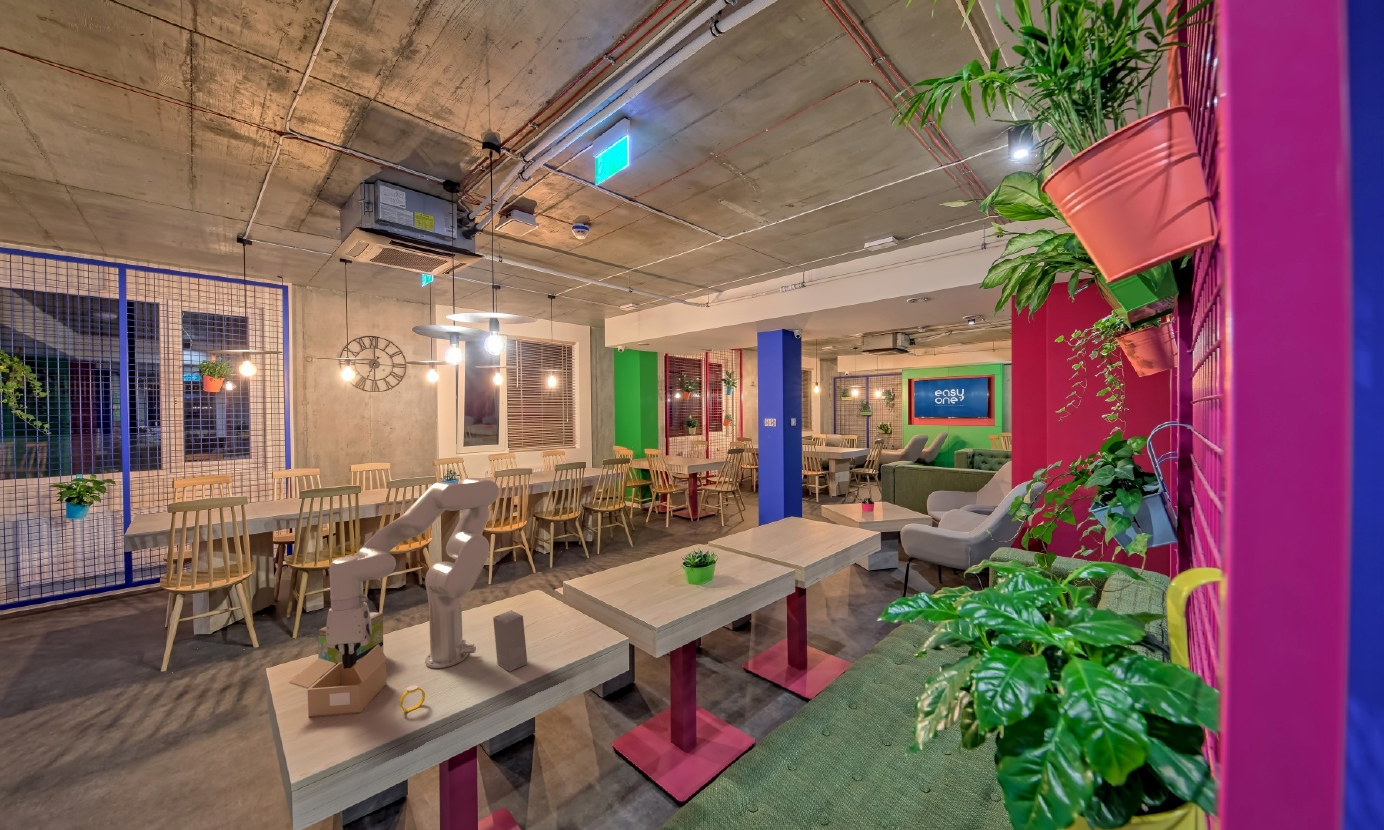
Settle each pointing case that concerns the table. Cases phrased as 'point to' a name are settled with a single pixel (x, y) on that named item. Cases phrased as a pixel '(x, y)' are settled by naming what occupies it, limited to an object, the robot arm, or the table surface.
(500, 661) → the skincare box
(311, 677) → the flap
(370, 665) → the flap
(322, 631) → the tea box
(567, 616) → the table surface
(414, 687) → the watch
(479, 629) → the table surface
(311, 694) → the carton
